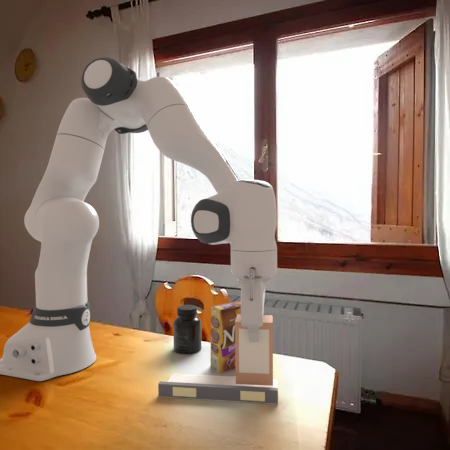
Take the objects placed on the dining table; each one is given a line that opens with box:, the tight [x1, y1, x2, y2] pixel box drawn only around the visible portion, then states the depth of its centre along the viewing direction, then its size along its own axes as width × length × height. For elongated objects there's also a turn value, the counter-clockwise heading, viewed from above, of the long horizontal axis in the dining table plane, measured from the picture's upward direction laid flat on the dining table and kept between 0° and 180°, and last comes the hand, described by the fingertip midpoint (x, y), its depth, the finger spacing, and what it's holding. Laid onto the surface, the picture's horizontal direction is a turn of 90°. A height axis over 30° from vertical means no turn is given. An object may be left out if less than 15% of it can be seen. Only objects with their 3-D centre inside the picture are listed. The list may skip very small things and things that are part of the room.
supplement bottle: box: [172, 304, 202, 355], centre depth 91 cm, size 7×7×12 cm
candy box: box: [210, 299, 241, 374], centre depth 81 cm, size 9×4×15 cm, turn 123°
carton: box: [234, 314, 274, 386], centre depth 71 cm, size 5×7×12 cm
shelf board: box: [157, 372, 279, 405], centre depth 71 cm, size 22×10×4 cm, turn 82°
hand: (254, 335), depth 71 cm, fingers closed on carton, 5 cm apart
